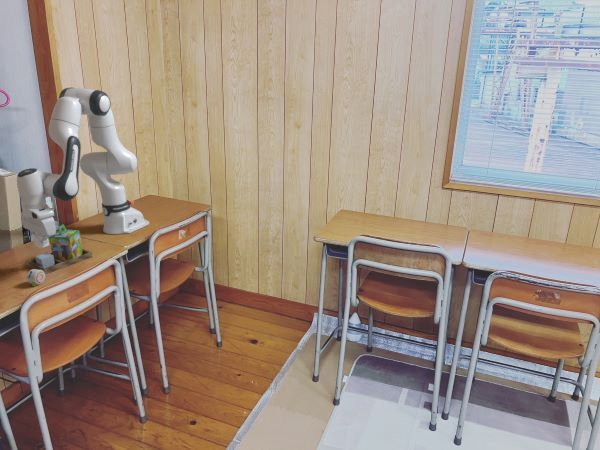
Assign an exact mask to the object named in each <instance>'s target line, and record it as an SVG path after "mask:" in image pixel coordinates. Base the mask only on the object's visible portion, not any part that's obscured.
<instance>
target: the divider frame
mask: <svg viewBox="0 0 600 450" xmlns="http://www.w3.org/2000/svg"><path fill="white" fill-rule="evenodd" d="M82 249H83V255H81V256H78V257H75V258H72V259H70V260H67V261H64V262H61V261H59V260H57V259H55V258H54V261H55V265H53V266H50V267H47V268H44V267H42V266H40V265H38V264H37V263H36V258H33V259H29V260H27V262H26V263H27V265H28V267H30V268H31V269H38V270H42V271H44V273H45V275H47V274H50V273H52V272H56V271H59V270H61V269H64V268H67V267H70V266H72V265H74V264H78V263H80V262H83V261H86V260H88V259H91V258H93V253H92V252H91V251H90V250H86V249H84V248H82ZM49 254H52V252H51V253H49Z"/></svg>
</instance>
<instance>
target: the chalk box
mask: <svg viewBox="0 0 600 450" xmlns="http://www.w3.org/2000/svg"><path fill="white" fill-rule="evenodd" d="M57 229H58V230H56V234H55V235H54V236H50V237H48V240H49V246H50V249H51V250H50V251H51V253H52V255H53V256H54V258H55V259H57V260H59V261H61V262H64V261H67V260H70V259H72V258H75V257H78V256H81V255H83V249H84V248H83V246H82V245H83V244H82V237H81V232H80V230H79V229H77V230H76V229H67V228H66V226H65V224H61V225H60V226H58V227H57Z"/></svg>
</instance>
